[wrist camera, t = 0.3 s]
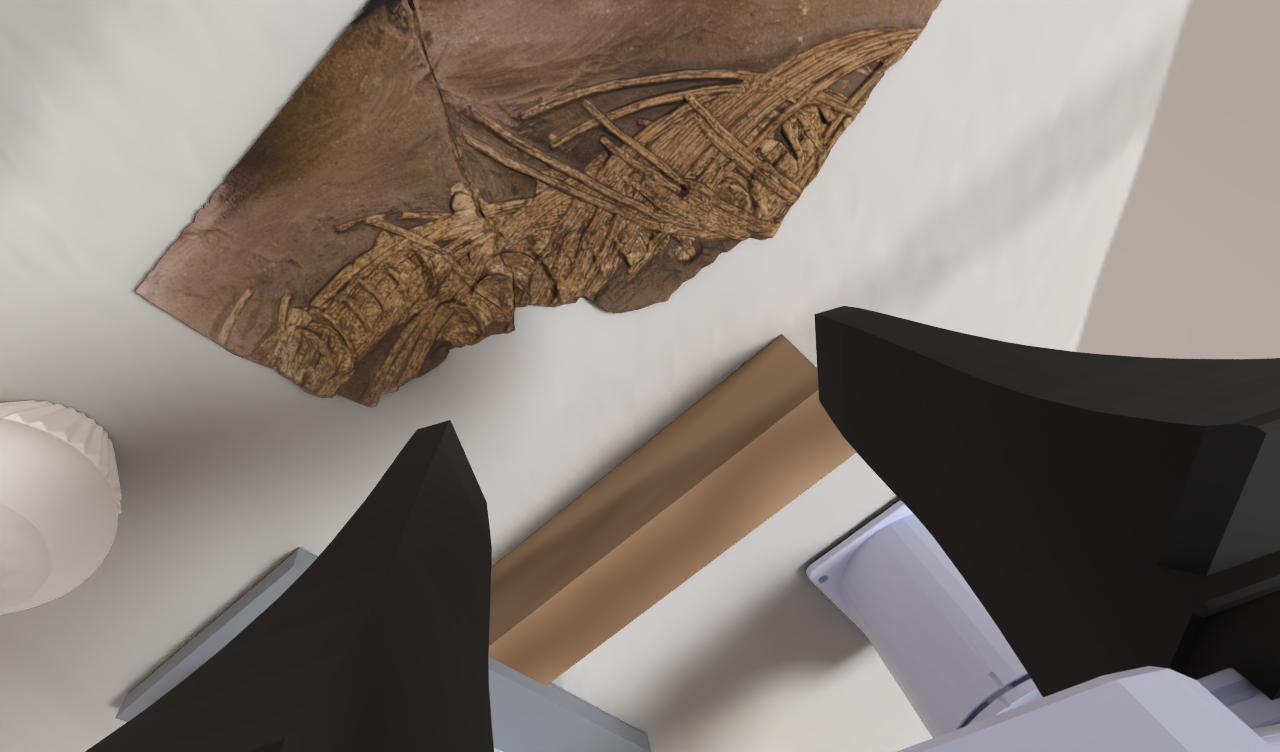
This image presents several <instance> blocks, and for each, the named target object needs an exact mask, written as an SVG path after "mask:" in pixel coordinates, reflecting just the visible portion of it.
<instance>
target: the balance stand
mask: <svg viewBox="0 0 1280 752" xmlns="http://www.w3.org/2000/svg"><path fill="white" fill-rule="evenodd" d="M317 558H318V557H316V556H314V555H312V554H311V553H309V552H307V551H305V550H303V549H301V548H298V549H297V550H296V551H295V552H294V553H293V554H291V555H290V556H289V557H288V558H287V559H286V560H284V561H283V562H282V563H281V564H280V565H279V566H277V567H276V568H275V569H274V570H273V571H272V572H270V573H269V574H268V575H267V576H266V577H264V578H263V579H262V580H261V581H260V582H259V583H257V584H256V585H255V586H254V587H253V588H252V589H250V590H249V591H248V592H247V593H246V594H245V595H243V596H242V597H241V598H240V599H239V600H238V601H236V602H235V603H234V604H233V605H232V606H230V607H229V608H228V609H227V610H226V611H225V612H223V613H222V614H221V615H220V616H219V617H218V618H216V619H215V620H214V621H213V622H212V623H211V624H209V625H208V626H207V627H206V628H205V629H204V630H202V631H201V632H200V633H199V634H198V635H196V636H195V637H194V638H193V639H192V640H191V641H189V642H188V643H187V644H186V645H185V646H184V647H182V648H181V649H180V650H179V651H178V652H177V653H175V654H174V655H173V656H172V657H171V658H170V659H168V660H167V661H166V662H165V663H164V664H162V665H161V666H160V667H159V668H158V669H157V670H155V671H154V672H153V673H152V674H151V675H150V676H148V677H147V678H146V679H145V680H144V681H143V682H141V683H140V684H139V685H138V686H137V687H136V688H134V689H133V690H132V691H131V692H130V693H128V695H127V697H126V698H125V700H124V702H123V704H122V706H121V708H120V710H119V712H118V713H117V715H116V717H115V718H117V719H120V720H123V721H126V722H129V721H130V720H131V719H133V718H134V717H135V716H137V715H138V714H139V713H141V712H142V711H144V710H145V709H146V708H148V707H149V706H150V705H152V704H153V703H154V702H156V701H157V700H158V699H159V698H161V697H162V696H163V695H165V694H166V693H167V692H168V691H170V690H171V689H172V688H174V687H175V686H176V685H178V684H179V683H180V682H181V681H183V680H184V679H185V678H187V677H188V676H189V675H190V674H192V673H193V672H194V671H195V670H197V669H198V668H199V667H200V666H201V665H203V664H204V663H205V662H206V661H208V660H209V659H210V658H211V657H213V656H214V655H215V654H216V653H217V652H219V651H220V650H221V649H222V648H223V647H224V646H226V645H227V644H228V643H229V642H230V641H231V640H232V639H233V638H235V637H236V636H237V635H238V634H239V633H240V632H241V631H242V630H243V629H245V628H246V627H247V626H248V625H249V624H250V623H251V622H252V621H253V620H255V619H256V618H257V617H258V616H259V615H260V614H261V613H262V612H263V611H265V610H266V609H267V608H268V607H269V606H270V605H271V604H272V603H273V602H275V601H276V600H277V599H278V598H279V597H280V596H281V595H282V594H283V593H284V592H285V591H286V590H287V589H288V588H289V587H290V586H291V585H292V584H293V583H294V582H295V581H296V580H297V579H298V578H299V577H300V576H301V575H302V574H303V572H304V571H305V570H306V569H307V568H308V567H309V566H310V565H311V564H312V563H313V562H314V561H315V560H316V559H317ZM488 664H489V693H490V706H491V720H492V733H493V745H494V752H651V750H650V746H649V742H648V737H647V735H646V734H645V733H643V732H641V731H639V730H637V729H635V728H633V727H632V726H630V725H628V724H626V723H624V722H622V721H620V720H619V719H617V718H615V717H613V716H611V715H609V714H607V713H606V712H604V711H602V710H600V709H598V708H596V707H594V706H593V705H591V704H589V703H587V702H585V701H583V700H581V699H580V698H578V697H576V696H574V695H572V694H570V693H568V692H567V691H565V690H563V689H561V688H559V687H557V686H556V685H554V684H552V683H549V684H548V685H546V686H545V685H543V684H541V683H539V682H537V681H535V680H533V679H531V678H529V677H527V676H525V675H523V674H521V673H519V672H518V671H516V670H514V669H512V668H510V667H508V666H506V665H504V664H502V663H500V662H498V661H496V660H494V659H492V658H490V657H489V656H488Z"/></svg>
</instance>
